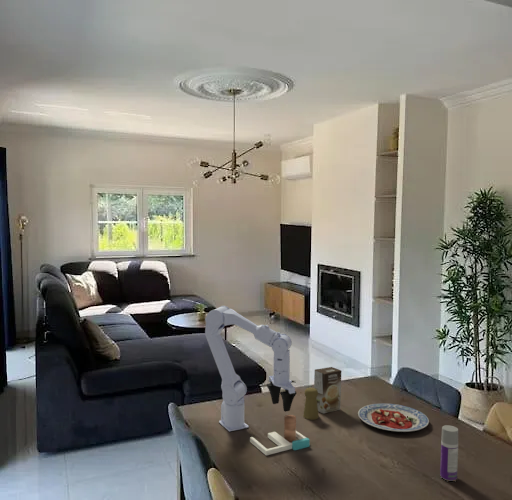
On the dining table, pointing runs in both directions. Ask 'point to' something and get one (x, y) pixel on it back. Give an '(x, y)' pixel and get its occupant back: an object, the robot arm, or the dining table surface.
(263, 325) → the robot arm
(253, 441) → the slot rack
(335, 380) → the coffee box
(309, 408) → the olive yellow shaker
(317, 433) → the dining table surface
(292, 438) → the peg
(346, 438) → the dining table surface
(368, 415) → the ceramic plate
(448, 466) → the container
